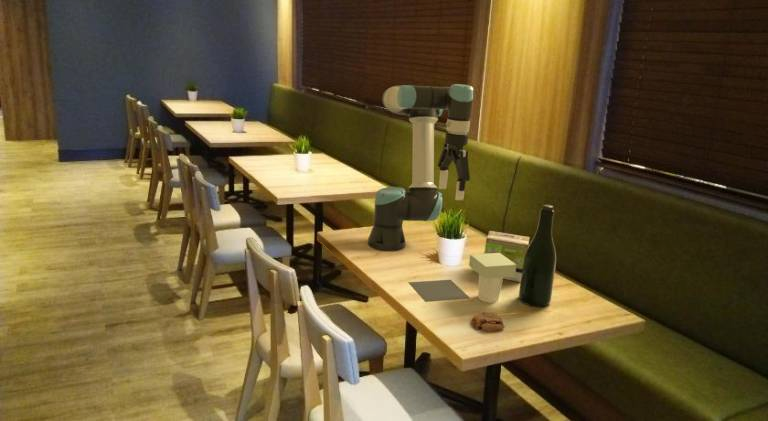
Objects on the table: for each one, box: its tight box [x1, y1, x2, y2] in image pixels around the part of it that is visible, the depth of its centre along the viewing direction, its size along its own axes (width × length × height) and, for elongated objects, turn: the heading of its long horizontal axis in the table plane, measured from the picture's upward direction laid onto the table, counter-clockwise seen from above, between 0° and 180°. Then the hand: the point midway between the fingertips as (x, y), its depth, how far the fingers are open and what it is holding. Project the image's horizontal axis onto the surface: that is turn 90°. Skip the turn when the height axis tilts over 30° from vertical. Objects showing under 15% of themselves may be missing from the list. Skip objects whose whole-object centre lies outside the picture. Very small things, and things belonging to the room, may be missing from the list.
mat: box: [407, 279, 471, 303], centre depth 206 cm, size 16×16×1 cm
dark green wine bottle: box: [518, 204, 557, 308], centre depth 199 cm, size 10×10×33 cm
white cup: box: [477, 274, 504, 304], centre depth 201 cm, size 8×8×10 cm
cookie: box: [470, 311, 505, 333], centre depth 184 cm, size 10×11×3 cm
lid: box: [468, 253, 516, 278], centre depth 199 cm, size 11×11×4 cm
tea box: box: [483, 230, 530, 283], centre depth 222 cm, size 15×10×15 cm, turn 74°
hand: (450, 194), depth 208 cm, fingers open, 13 cm apart
